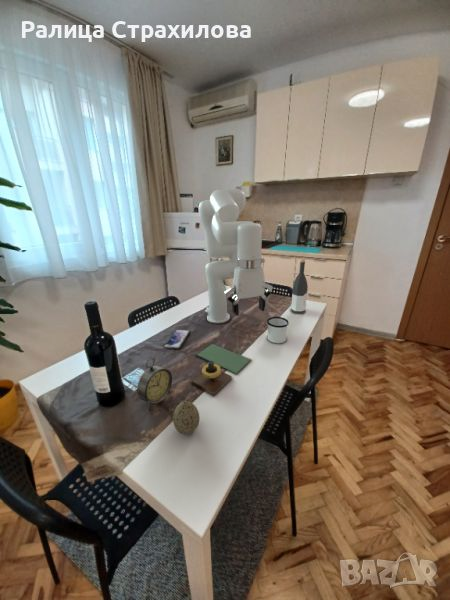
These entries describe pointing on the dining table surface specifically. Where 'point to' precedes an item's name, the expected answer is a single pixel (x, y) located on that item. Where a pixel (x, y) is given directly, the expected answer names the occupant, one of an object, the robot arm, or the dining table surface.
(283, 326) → the mug
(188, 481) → the dining table surface
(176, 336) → the smartphone
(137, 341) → the dining table surface
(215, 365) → the ring
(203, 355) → the mat
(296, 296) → the wine bottle
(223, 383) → the stand
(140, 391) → the alarm clock
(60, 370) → the dining table surface
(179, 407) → the decorative egg
